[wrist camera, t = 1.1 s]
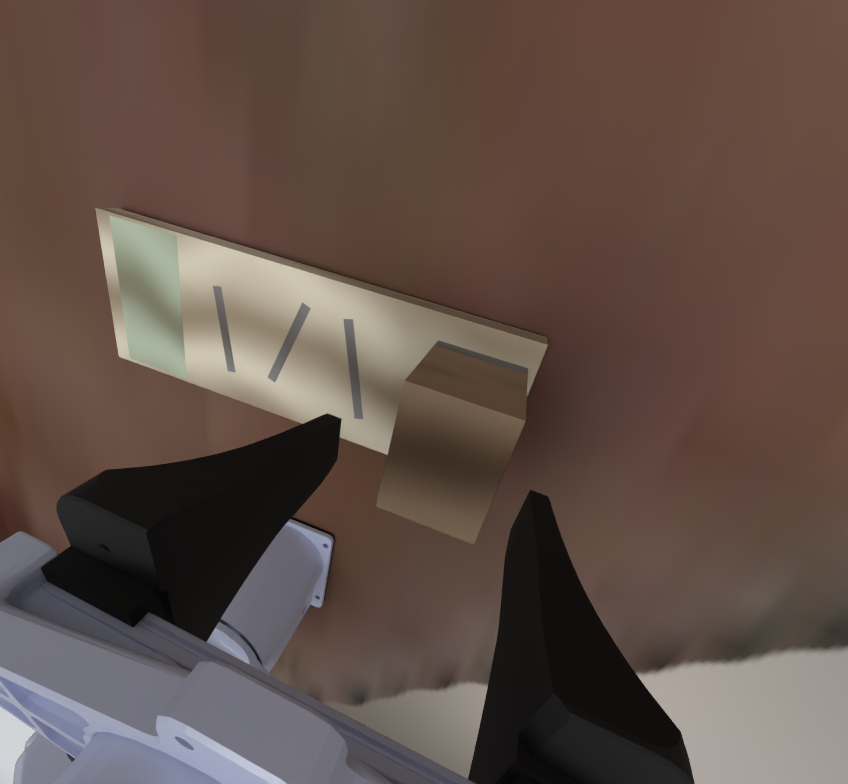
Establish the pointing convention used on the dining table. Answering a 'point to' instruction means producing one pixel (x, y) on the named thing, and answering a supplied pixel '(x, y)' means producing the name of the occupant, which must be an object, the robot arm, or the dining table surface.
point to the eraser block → (453, 439)
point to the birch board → (280, 326)
